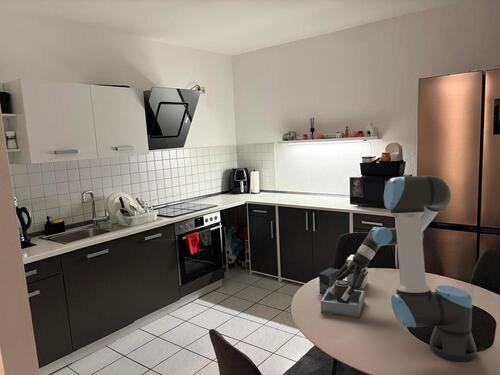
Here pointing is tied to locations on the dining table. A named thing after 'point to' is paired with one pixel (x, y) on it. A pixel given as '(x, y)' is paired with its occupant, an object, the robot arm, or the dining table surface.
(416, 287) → the robot arm
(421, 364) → the dining table surface
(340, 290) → the coffee cup
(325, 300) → the bin
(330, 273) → the small box
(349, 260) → the supplement box
